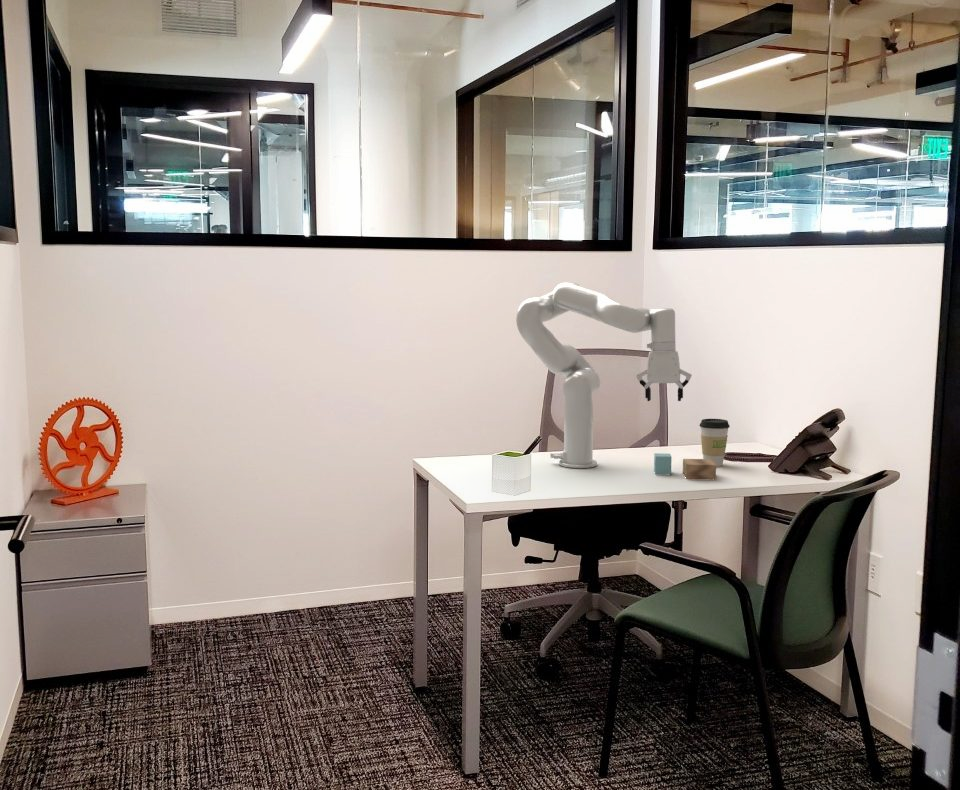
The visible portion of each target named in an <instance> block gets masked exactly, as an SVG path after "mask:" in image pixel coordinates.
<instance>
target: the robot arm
mask: <svg viewBox="0 0 960 790" xmlns="http://www.w3.org/2000/svg"><path fill="white" fill-rule="evenodd" d="M567 312H573V313H577V314H579V315H582V316H584V317H586V318H590V319H594V320H596V321H598V322H601V323H603V324H606V325H608V326H611V327H613V328H616V329H619V330H623V331H625V332H629V333H632V334H634V333H635V334H638V333H641V332H646V331H651V332H650V333H651V336H650V341H651V342H650V343H647V344H646V348H647V349H650V351H649V352H648V357H647V365H646V367H647V369H646V370H643V371H642V372H639V373H638V374H636V378H637V381H638V382H639V385H641V386H642V387H643V389H644V390H645V393H644V394H645V399H646V400H647V402H650V401H651V400H652V395H651V394H652V393H651V392H652V391H651V385H652V384H676V385H677V387H678V388H677V401H678V402H681V401H682V399H683V398H684V387H686V385H688V384H689V382H690V380H691V378H692V374H691V372H690V373H689V372H687V371H685V370H684V369H681V366H680V356H679V351H677V350H676V311H675V309H673V308H668V307H666V308H665V307H663V308H654V309H652V308H643V307H639V308H634V307H630V306H627V305H624V304H621V303H618V302H616V301H614V300H611V299H610V298H608V296H607V295H605V294H604V293H601V292H598V291H595V290H591V289H588V288H585V287H582V286H581V285H580V284H578V283H576V282H571V281H570V282H561V283H559V284H558V285H556V287H555V288H554V289H553V291H551V292H549V293H547V294H545V295H542V296H538V297H537V296H536V297H530V298H527V299H526V300H524V301H523V302H521V304H520V306H519V308H518V309H517V313H516V317H515V318H516V319H515V320H516V321H515V322H516V328H517V329H518V332H519V334H520V336H521V337H522V339H523V340H524V341H525V342H526V343H527V345H528V346H529V347H530V348H531V350H532V351H533V352H534V353H535V355H536V356H537V357H538V358H539V359H540V361H541V362H542V363H543V364H544V366H545V367H546V368H547V369H548V371H549V372H551V373H553V374H554V375H562V376H563V377H564V381H563V383H562V396H563V397H562V398H563V409H564V410H563V411H564V412H563V416H564V417H563V418H564V419H563V420H564V421H563V422H564V423H563V428H564V429H563V430H564V431H563V432H564V433H563V450H562V451H559V452H556V451H555V452H553V451H551V452H550V459H554V460H555V459H557V460H558V459H560V460H559V462H558V464H559V466H561V467H565V468H572V469H588V468H589V469H590V468H594V467H596V466H597V465H598V461H597V460H596V459H593V457H594V455H593V454H594V453H593V450H594V449H593V448H594V447H593V446H594V445H593V444H594V443H593V442H594V440H593V439H594V437H593V436H594V405H593V395H594V394H596V393H597V391H598V390H599V389H600V386H601V380H600V376H599V375H598V372H596V370H595V369H594V367H592V365H591V364H590V363H589V362H588V361H587V359H586V358H585V357H584V356H583V354H581V352H580V351H579V350H578V349H576V348H575V347H574V346H572V345H570V344H562V343H561V342H560V341H559V340H558V339H557V338H556V336H555V335H554V334H553V332H552V331H550V330H549V329H548V328H547V327H546V326H545V325H544V323H545V322H548V321H550V320H552V319H555V318H557V317H559V316H561V315H563V314H565V313H567ZM681 375H683V376H684V377H685V380H684V381H683V382H682V381H681ZM643 376H646V380H647V382H646V381H645V380H644V379H643Z"/></svg>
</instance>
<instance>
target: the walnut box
mask: <svg viewBox="0 0 960 790" xmlns="http://www.w3.org/2000/svg"><path fill="white" fill-rule="evenodd" d="M683 474H684V475H683ZM682 475H683V477H684V476H685V477H686V478H685V477H684V478H685V480H686V479H714V480H713V481H716V480H717V467H716V464H715V463H714V462H713V460H712V459H703V458H683V459H682ZM715 479H716V480H715Z"/></svg>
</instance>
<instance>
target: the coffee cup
mask: <svg viewBox="0 0 960 790" xmlns="http://www.w3.org/2000/svg"><path fill="white" fill-rule="evenodd" d="M698 426H699V427H700V440H701V452H702V453H701V454H702V459H712V460H713V462H714V463H715V464H716V468H718V467H722V466H723V465H724V459H725V455H726V448H727V443H728V435H729V434H728V432H729V428H730V424H729V420H727V419H721V418H703V419H701V422H700V423H699V425H698Z"/></svg>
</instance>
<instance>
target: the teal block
mask: <svg viewBox="0 0 960 790" xmlns="http://www.w3.org/2000/svg"><path fill="white" fill-rule="evenodd" d="M653 456H654V457H653V458H654V459H653V473H654V472H655V473H654V475H655V474H671V475H672V459H673V458H672V455H671V453H660V452H659V453H657V452H656V453H654V455H653Z"/></svg>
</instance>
